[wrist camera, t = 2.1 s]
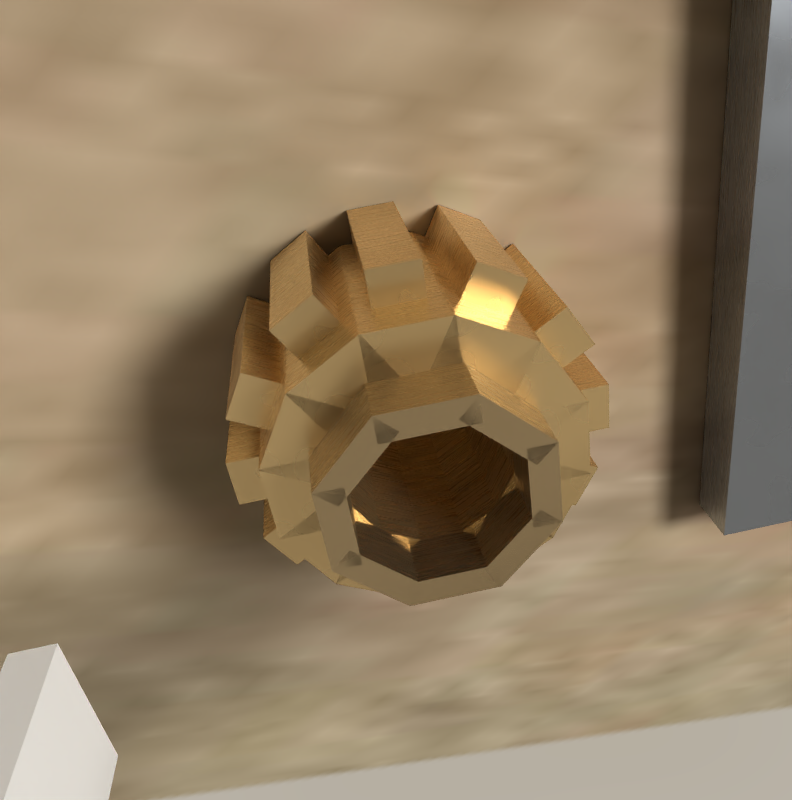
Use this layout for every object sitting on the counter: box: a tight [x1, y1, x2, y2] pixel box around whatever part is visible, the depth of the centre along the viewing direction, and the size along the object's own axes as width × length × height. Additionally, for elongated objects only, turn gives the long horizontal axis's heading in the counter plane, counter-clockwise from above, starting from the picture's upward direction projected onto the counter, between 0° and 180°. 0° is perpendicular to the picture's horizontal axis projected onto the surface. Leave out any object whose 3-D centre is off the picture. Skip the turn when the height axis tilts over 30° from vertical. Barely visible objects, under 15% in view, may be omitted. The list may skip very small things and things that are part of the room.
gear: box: [226, 202, 609, 606], centre depth 17 cm, size 8×8×6 cm
